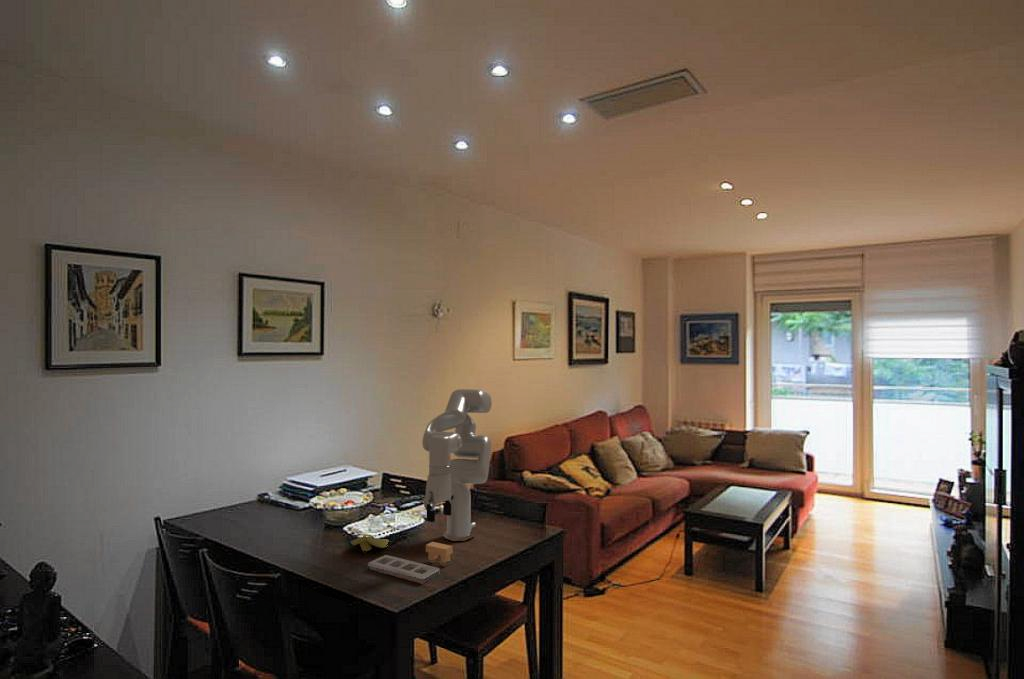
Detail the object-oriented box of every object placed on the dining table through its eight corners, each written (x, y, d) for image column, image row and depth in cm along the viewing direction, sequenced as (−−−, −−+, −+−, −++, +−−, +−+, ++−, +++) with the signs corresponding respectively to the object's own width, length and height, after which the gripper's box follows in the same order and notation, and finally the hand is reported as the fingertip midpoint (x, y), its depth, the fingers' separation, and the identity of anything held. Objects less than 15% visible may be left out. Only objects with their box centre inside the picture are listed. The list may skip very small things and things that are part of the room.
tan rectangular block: (432, 559, 219) (432, 541, 219) (452, 564, 215) (452, 546, 215) (425, 563, 216) (425, 544, 216) (446, 568, 211) (446, 549, 211)
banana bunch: (372, 531, 243) (392, 522, 241) (378, 549, 242) (399, 540, 240) (345, 544, 224) (367, 534, 222) (352, 563, 223) (374, 553, 221)
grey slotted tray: (385, 561, 217) (385, 554, 217) (439, 575, 205) (439, 568, 205) (368, 569, 209) (368, 562, 209) (422, 584, 197) (422, 577, 197)
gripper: (445, 465, 225) (445, 511, 224) (416, 473, 210) (415, 522, 209) (462, 467, 221) (461, 514, 221) (433, 475, 206) (432, 525, 206)
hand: (439, 518), depth 215 cm, fingers open, 9 cm apart
